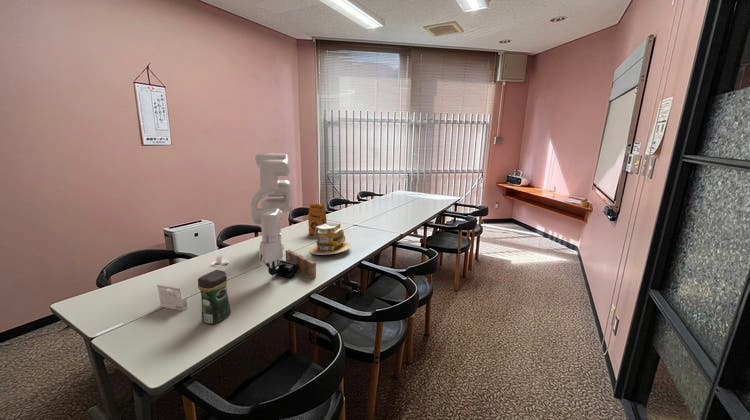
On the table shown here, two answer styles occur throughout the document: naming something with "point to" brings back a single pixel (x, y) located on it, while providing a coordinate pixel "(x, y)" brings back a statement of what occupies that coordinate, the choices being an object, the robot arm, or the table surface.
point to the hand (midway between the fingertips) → (272, 274)
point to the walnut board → (302, 263)
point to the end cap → (286, 269)
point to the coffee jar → (214, 296)
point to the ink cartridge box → (172, 298)
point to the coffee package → (316, 217)
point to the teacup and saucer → (220, 261)
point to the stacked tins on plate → (329, 239)
